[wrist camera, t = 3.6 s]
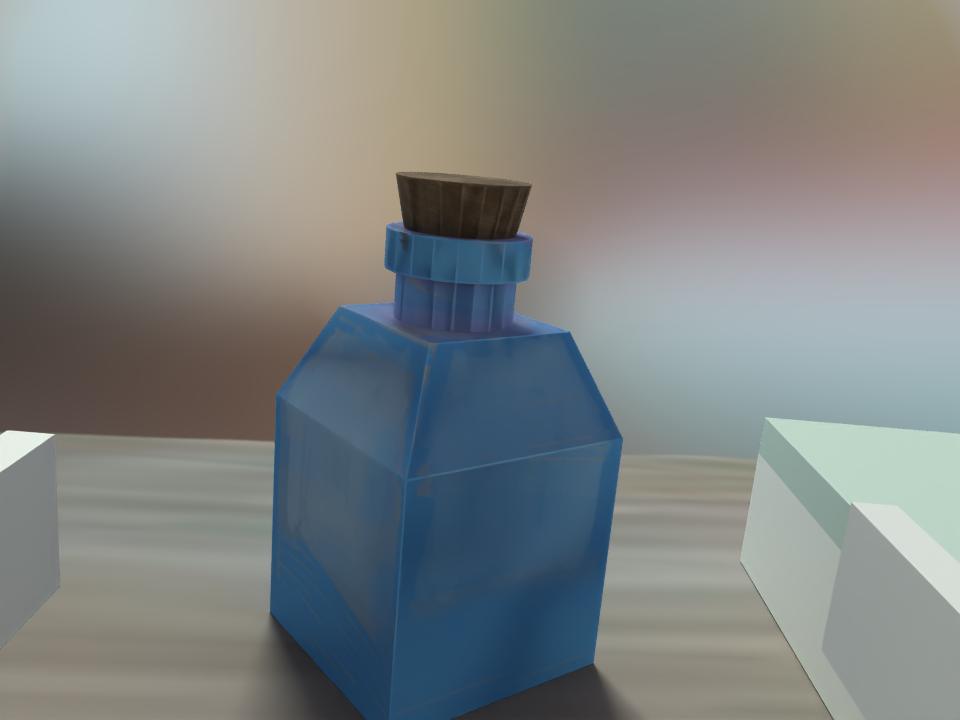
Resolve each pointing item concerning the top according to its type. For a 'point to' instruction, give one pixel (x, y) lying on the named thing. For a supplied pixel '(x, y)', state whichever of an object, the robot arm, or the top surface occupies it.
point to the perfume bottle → (443, 474)
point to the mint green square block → (837, 519)
